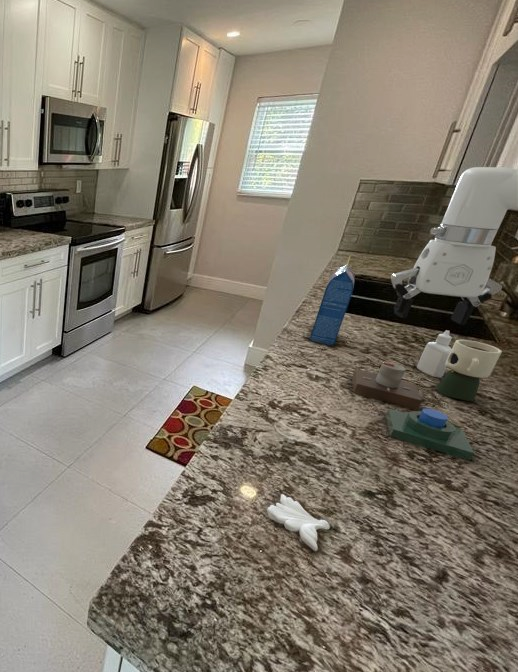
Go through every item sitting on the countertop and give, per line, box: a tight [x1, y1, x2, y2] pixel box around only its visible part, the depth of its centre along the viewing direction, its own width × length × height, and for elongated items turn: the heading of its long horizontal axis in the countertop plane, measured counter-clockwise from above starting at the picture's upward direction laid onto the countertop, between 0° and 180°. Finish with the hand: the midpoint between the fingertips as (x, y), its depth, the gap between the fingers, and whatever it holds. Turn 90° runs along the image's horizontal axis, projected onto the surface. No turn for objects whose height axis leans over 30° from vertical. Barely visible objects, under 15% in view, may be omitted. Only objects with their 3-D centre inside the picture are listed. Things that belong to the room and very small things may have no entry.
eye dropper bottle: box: [416, 329, 453, 378], centre depth 103 cm, size 4×6×12 cm
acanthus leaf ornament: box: [266, 493, 331, 552], centre depth 59 cm, size 8×7×2 cm
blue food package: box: [308, 256, 356, 347], centre depth 120 cm, size 6×12×25 cm, turn 140°
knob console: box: [351, 368, 423, 411], centre depth 94 cm, size 11×9×3 cm
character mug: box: [436, 339, 503, 402], centre depth 93 cm, size 11×7×13 cm, turn 136°
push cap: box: [418, 408, 449, 428], centre depth 78 cm, size 4×4×2 cm
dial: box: [376, 361, 407, 388], centre depth 93 cm, size 4×4×5 cm
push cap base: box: [384, 408, 475, 461], centre depth 79 cm, size 11×9×4 cm
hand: (428, 319), depth 84 cm, fingers open, 9 cm apart
